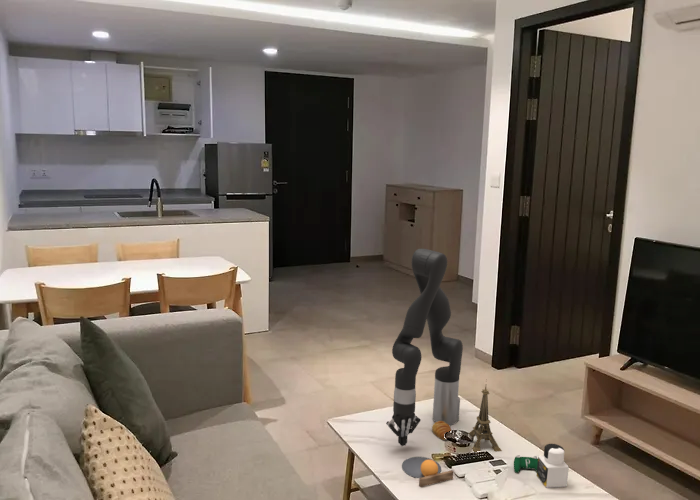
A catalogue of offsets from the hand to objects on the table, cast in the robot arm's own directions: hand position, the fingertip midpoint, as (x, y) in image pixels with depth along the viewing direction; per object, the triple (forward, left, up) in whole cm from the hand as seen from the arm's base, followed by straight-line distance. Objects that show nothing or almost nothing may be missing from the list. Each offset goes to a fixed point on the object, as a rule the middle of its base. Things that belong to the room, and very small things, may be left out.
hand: (402, 444), depth 207 cm
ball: (0, +18, +1) cm, 19 cm away
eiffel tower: (-28, +8, -2) cm, 29 cm away
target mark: (0, +13, -2) cm, 13 cm away
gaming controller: (-32, +27, -2) cm, 42 cm away
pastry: (-19, -4, -2) cm, 20 cm away
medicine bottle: (-35, +35, -2) cm, 50 cm away
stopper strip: (0, +22, -2) cm, 22 cm away
